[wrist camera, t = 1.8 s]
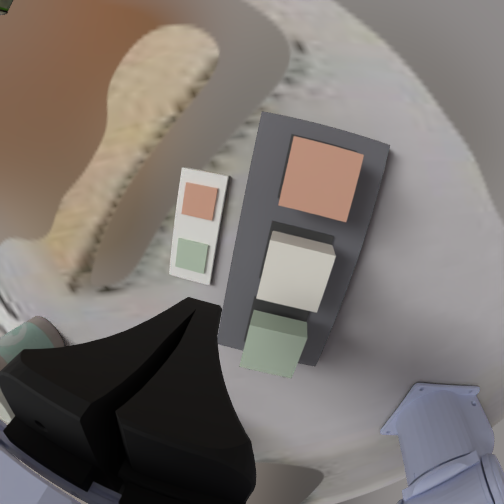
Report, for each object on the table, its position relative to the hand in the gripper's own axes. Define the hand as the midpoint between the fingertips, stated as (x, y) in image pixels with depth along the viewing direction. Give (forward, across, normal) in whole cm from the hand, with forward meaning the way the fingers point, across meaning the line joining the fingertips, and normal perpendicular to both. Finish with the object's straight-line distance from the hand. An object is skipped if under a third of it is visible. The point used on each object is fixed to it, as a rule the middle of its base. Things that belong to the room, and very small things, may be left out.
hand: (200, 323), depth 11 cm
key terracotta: (+8, -3, -6) cm, 10 cm away
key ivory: (+8, -3, 0) cm, 9 cm away
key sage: (+8, -3, +6) cm, 10 cm away
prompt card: (+10, +4, 0) cm, 11 cm away
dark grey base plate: (+10, -4, 0) cm, 11 cm away
